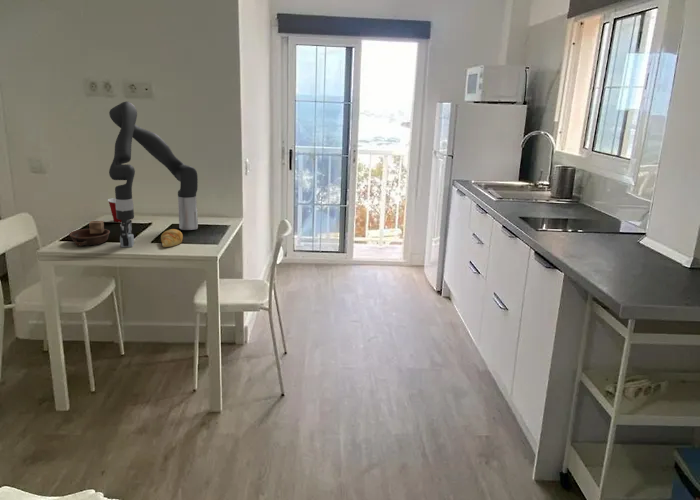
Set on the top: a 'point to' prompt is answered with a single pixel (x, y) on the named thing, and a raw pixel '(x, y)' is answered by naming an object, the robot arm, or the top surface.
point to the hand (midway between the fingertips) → (127, 244)
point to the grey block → (130, 240)
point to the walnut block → (96, 227)
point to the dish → (88, 237)
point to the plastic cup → (113, 209)
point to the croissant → (171, 238)
